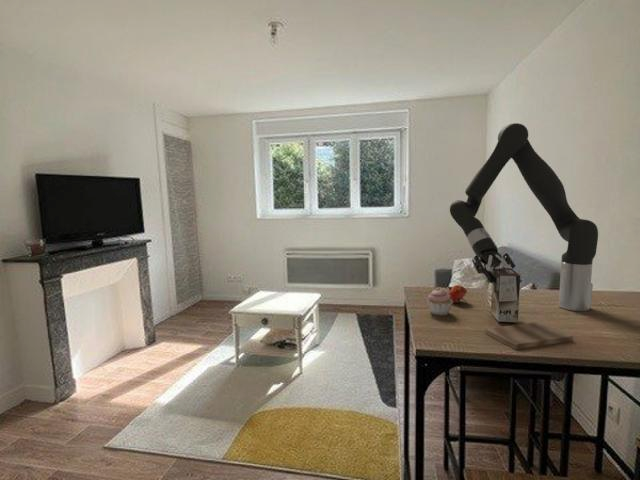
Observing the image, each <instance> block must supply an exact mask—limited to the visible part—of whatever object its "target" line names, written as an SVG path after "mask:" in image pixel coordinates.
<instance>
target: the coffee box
mask: <svg viewBox="0 0 640 480" xmlns="http://www.w3.org/2000/svg"><path fill="white" fill-rule="evenodd" d="M491 272H492V274H493V276H494V278H495V282H494V283H491V300H490V301H491V305H490V307H491V308H490V311H491V314H492V315H493V316H494V318H495V319H496V320H497V322H505V323H518V321H519V319H518V318H519V308H520V307H519V304H520V289H521V288H520V287H521V275H520V274H519V273H518V272H516V271H515V270H514V268H513V269H511V268H507V267H505V268H500V269H499V268H492V270H491Z"/></svg>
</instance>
